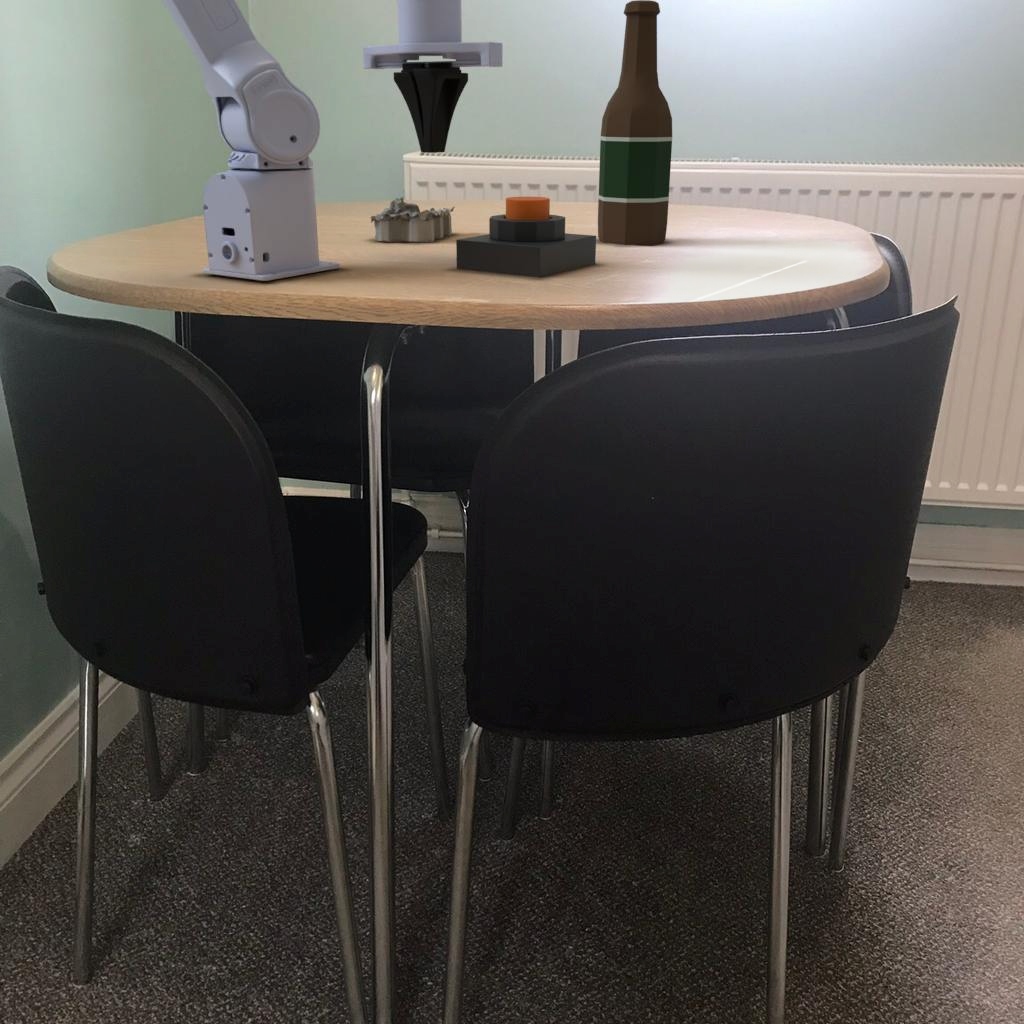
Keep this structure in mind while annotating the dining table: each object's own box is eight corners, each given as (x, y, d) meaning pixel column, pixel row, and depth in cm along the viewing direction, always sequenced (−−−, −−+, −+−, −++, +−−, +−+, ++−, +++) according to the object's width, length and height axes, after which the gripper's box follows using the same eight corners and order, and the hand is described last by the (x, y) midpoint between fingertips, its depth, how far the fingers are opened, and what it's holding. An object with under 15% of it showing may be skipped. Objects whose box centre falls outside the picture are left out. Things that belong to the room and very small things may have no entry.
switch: (534, 224, 90) (534, 201, 90) (497, 222, 92) (497, 198, 92) (557, 221, 94) (557, 197, 93) (521, 218, 96) (521, 195, 95)
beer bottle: (589, 244, 110) (597, -2, 102) (604, 236, 117) (612, 5, 108) (660, 247, 108) (674, -4, 99) (671, 238, 115) (685, 3, 106)
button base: (539, 278, 88) (540, 225, 87) (456, 269, 93) (455, 218, 91) (595, 264, 96) (597, 215, 94) (516, 257, 101) (516, 210, 99)
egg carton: (401, 232, 121) (400, 196, 120) (460, 234, 119) (460, 198, 118) (364, 241, 112) (362, 203, 110) (428, 244, 110) (427, 205, 108)
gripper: (521, -10, 90) (520, 152, 95) (394, -2, 97) (400, 149, 102) (475, -18, 84) (477, 155, 89) (344, -9, 92) (352, 151, 97)
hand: (432, 152), depth 95 cm, fingers closed
